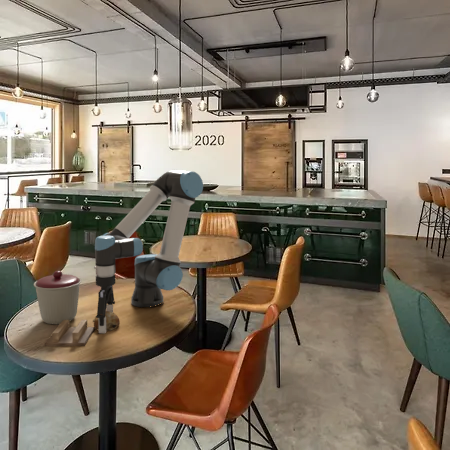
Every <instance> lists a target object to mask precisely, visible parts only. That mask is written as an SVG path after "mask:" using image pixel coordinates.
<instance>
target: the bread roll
mask: <svg viewBox="0 0 450 450" xmlns="http://www.w3.org/2000/svg"><path fill="white" fill-rule="evenodd" d="M100 315H102V314H100ZM105 317H106V332H108V331H110V332H111V331H113V330H115V329H116V328H118V327H119V326H120V324H121V323H120V322H121V321H120V318H119V316H118V314H117V313H115V312H114V311H113V312H110V311H106V314H105ZM92 323H93V327H95V329H96V330H97V331H99V322H98V318H96V316H95V317H94V319H92Z"/></svg>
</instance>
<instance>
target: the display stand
mask: <svg viewBox="0 0 450 450" xmlns="http://www.w3.org/2000/svg"><path fill="white" fill-rule="evenodd" d="M95 329H96V328H95V327H94V326H88V319H81V321H80V322H79V323H78V324H77V326H70V321H69V320H63V321H62V322H61V323H60V324H58V326H57V327H56V328H55V330H53V332H52V334H51V335H50V336H49V337H48V338H47V340H45V342H44V346H45V347H51V346H52V347H54V346H55V347H56V346H57V347H59V346H60V347H61V346H66V347H69V346H70V347H71V346H73V347H75V346H77V347H78V346H80V347H81V346H84V347H85V345H86V344H87V343H88V341H89V340H90V338H91V336H92V334H93V333H94V331H95Z"/></svg>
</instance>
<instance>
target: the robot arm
mask: <svg viewBox="0 0 450 450" xmlns="http://www.w3.org/2000/svg"><path fill="white" fill-rule="evenodd" d="M203 189H204V182H203V180H202V178H201V176H200V174H199V173H197V172H195V171H193V170H183V169H182V170H178V169H172V170H168V171H166V172H165V173H163V174H161V176H160V177H158V178H157V179H156V180H155V181H154V182H153V183H152V184H151V185H150V187H149V191H148V192H147V193H145V195H144V196H143V197H142V198H141V199H140V200H139V201H138V202H137V204H136V205H134V207H133V208H132V209H131V210H130V211H129V212H128V214H127V215H125V217H124V218H122V220H121V221H120V222H119V223H118V224H117V225H116V226H115V227H114V228H113V230H112V231H110V232H105V233H103V234H102V235H100V236H99V235H98V236H97V237H96V238H95V241H94V254H95V255H94V256H95V266H94V267H93V269H94V270H95V285H96V286H97V287H100V289H99V291H98V294H97V295H98V300H97V309H96V311H97V313H96V315H95V317H96V318H98V322H99V330H98V334H106V333H107V331H106V317H105V314H106V311H110V312H114V305H115V304H116V301H115V296H114V289H113V288H114V287H113V286H114V285H116V275H115V274H116V260H118V259H124V258H132V257H135V259H134V289H133V293H132V295H131V298H130V301H131V302H130V303H131V305H132V306H134V307H137V308H142V307H149V308H151V307H150V306H155V305H158V304H160V303H162V302H163V303H164V295H163V291H162V290H164V291H173V290H175V289H176V288H177V287H179V285H180V284H181V282H182V280H183V277H184V276H183V275H184V273H183V270H182V268H181V267H180V266H181V262H182V261H181V260H180V252H181V247H182V244H183V238H184V233H185V230H186V225H187V221H188V218H189V214H190V213H189V212H190V210H191V209H190V208H191V206H192V205H194V204H195V201H196V198H198V197H199V196H200V195H201V194H202V193H203ZM168 198H169V199H170V200H171V203H170V207H169V212H168V215H167V216H168V217H167V220H166V224H165V228H164V232H163V237H162V241H161V247H160V250H159V253H158V254H157V253H156V254H153V253H152V254H151V253H150V254H143V250H144V245H143V242H142V240H141V238H139V237H132V235H133V234H134V233H135V232H136V231H137V230H138V229H139V228H140V227H141V225H142V224H143V223H144V222H145V221H146V220H147V219H148V218H149V216H150V215H151V214H152V213H153V212H154V211H155V210H156V209H157V207H159V205H160V204H161V203H162V202H165V201H167V200H168ZM130 237H131V238H130ZM163 303H162V304H163ZM100 314H102V315H100Z"/></svg>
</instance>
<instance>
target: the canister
mask: <svg viewBox="0 0 450 450" xmlns="http://www.w3.org/2000/svg"><path fill="white" fill-rule="evenodd" d="M81 283H82V279H81V278H80V277H78V276H76V275H73V274H67V273H66V274H65V273H63V272H62V271H61V270H55V271H54V272H53V273H52V275H47V276H43V277H41V278H39V279H37V280H36V281H34V283H33V287H34V288H35V291H36V299H37V302H38V303H37V304H38V308H39V314H40V317H41V320H42V321H43V322H44V323H46V324H49V325H60V323H61V322H62V321H63V320H69V322H72V321H73V320H74V319H75V318H76V316H77V313H78V305H79V295H80V284H81Z"/></svg>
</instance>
